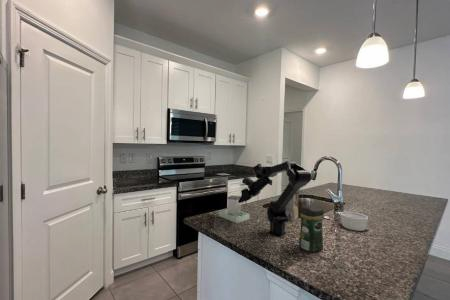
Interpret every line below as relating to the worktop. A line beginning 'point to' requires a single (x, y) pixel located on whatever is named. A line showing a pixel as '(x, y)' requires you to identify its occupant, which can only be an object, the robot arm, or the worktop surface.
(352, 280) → the worktop surface
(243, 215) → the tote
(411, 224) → the worktop surface
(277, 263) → the worktop surface
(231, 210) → the tin
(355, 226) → the ramekin
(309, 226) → the coffee jar
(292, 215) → the coffee box
